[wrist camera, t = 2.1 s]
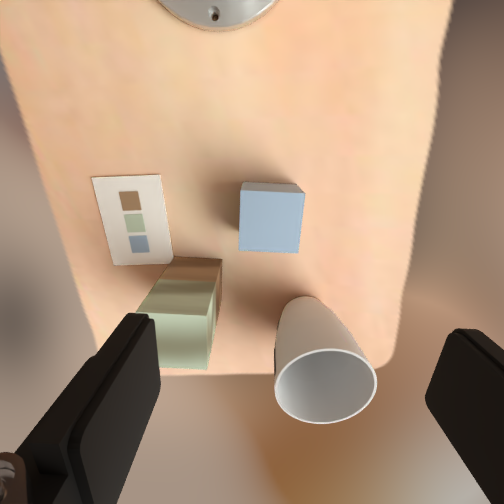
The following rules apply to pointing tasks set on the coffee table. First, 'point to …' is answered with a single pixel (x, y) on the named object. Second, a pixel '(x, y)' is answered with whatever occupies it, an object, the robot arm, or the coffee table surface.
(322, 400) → the cup
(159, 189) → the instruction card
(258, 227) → the blue brick
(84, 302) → the coffee table surface
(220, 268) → the tower base
